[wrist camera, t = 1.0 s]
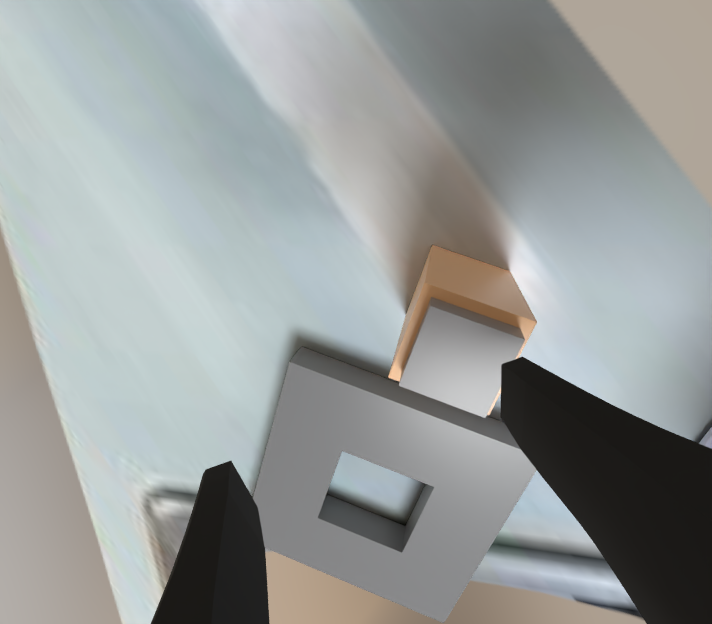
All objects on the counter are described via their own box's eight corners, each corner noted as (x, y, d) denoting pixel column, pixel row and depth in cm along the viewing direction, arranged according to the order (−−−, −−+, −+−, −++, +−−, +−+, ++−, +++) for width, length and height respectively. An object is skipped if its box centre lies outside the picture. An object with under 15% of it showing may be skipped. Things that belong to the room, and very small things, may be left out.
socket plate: (536, 434, 23) (544, 458, 21) (444, 593, 29) (443, 623, 27) (301, 346, 25) (289, 361, 23) (255, 514, 30) (242, 538, 28)
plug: (509, 271, 21) (542, 333, 13) (477, 340, 22) (491, 431, 15) (432, 244, 21) (422, 290, 14) (405, 314, 23) (384, 390, 15)
